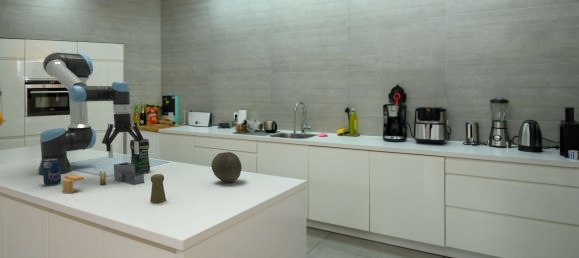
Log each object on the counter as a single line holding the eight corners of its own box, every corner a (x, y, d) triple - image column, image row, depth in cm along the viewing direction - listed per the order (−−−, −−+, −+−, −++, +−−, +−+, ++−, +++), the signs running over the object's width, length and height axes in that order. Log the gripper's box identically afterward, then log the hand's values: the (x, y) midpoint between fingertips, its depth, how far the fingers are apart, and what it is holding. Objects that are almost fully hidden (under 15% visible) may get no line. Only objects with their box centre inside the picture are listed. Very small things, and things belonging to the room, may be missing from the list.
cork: (160, 197, 152) (159, 172, 151) (169, 200, 148) (168, 174, 147) (147, 201, 147) (146, 174, 146) (156, 204, 144) (155, 176, 142)
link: (146, 182, 177) (145, 166, 176) (132, 185, 172) (132, 168, 171) (127, 177, 187) (127, 162, 186) (114, 180, 181) (113, 164, 180)
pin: (99, 184, 173) (98, 172, 172) (104, 183, 174) (103, 171, 174) (101, 185, 171) (101, 172, 171) (106, 184, 173) (106, 171, 172)
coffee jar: (136, 175, 192) (134, 140, 190) (128, 173, 197) (126, 139, 195) (152, 172, 199) (151, 138, 197) (145, 170, 204) (143, 137, 202)
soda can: (51, 186, 168) (49, 161, 167) (40, 185, 170) (38, 160, 169) (64, 183, 175) (63, 158, 174) (53, 181, 177) (52, 157, 176)
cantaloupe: (230, 177, 188) (230, 148, 186) (247, 182, 178) (247, 152, 176) (206, 182, 178) (206, 152, 176) (223, 187, 168) (222, 155, 166)
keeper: (61, 190, 162) (60, 176, 161) (75, 187, 167) (74, 174, 166) (70, 193, 157) (69, 179, 156) (84, 190, 162) (83, 176, 161)
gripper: (100, 114, 166) (103, 160, 168) (149, 112, 186) (151, 153, 188) (92, 114, 170) (95, 158, 172) (140, 111, 190) (142, 151, 193)
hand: (124, 156), depth 180 cm, fingers open, 13 cm apart
